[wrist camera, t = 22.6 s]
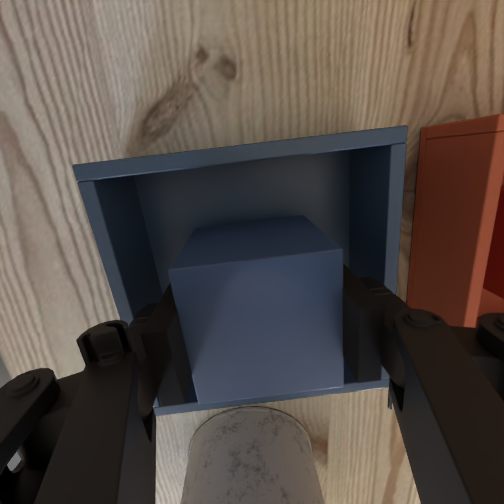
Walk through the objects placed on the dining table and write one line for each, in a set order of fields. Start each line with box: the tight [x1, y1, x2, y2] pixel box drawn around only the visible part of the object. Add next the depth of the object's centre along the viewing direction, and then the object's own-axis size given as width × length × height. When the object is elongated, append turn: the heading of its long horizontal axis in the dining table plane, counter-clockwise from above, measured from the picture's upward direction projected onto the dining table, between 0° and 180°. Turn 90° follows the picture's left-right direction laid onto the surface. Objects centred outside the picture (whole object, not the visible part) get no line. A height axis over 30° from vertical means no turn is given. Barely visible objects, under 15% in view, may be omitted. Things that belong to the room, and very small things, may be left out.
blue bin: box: [72, 125, 408, 416], centre depth 14 cm, size 12×12×4 cm
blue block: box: [168, 215, 344, 404], centre depth 12 cm, size 6×6×6 cm
